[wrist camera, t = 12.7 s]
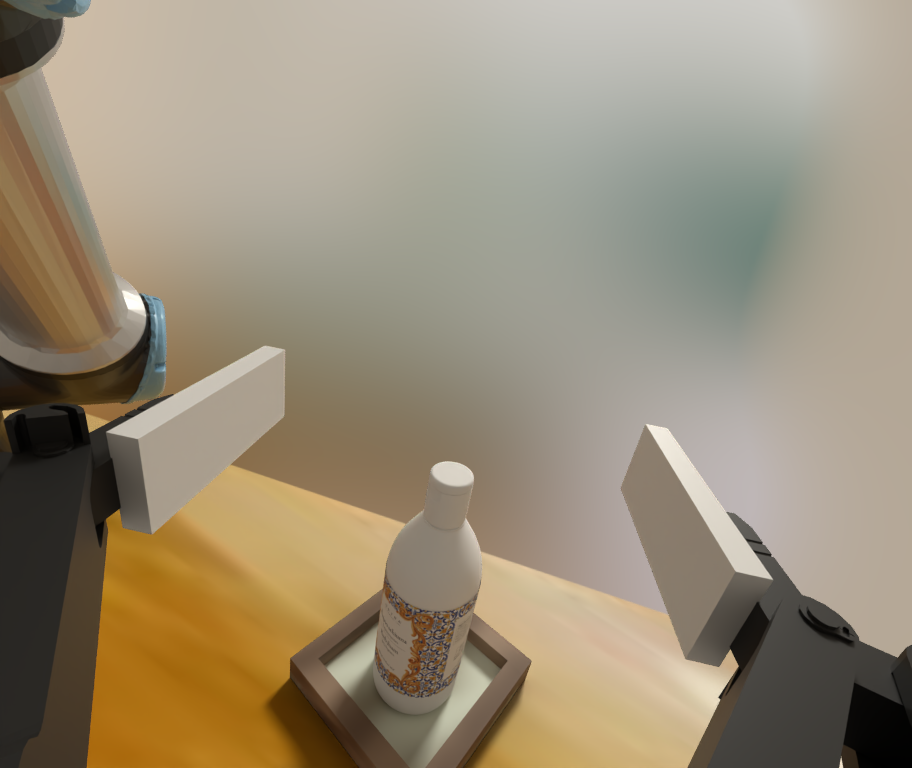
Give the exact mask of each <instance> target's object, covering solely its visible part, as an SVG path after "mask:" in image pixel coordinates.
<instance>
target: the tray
mask: <svg viewBox="0 0 912 768" xmlns="http://www.w3.org/2000/svg"><path fill="white" fill-rule="evenodd" d="M382 593H383V589H382V590H380V591H379V592H378V593H376V594H375V595H374V596H372V597H371V598H370V599H368V600H367V601H366V602H364V603H363V604H362V605H360V606H359V607H358V608H356V609H355V610H354V611H352V612H351V613H350V614H349V615H347V616H346V617H345V618H343V619H342V620H341V621H339V622H338V623H337V624H335V625H334V626H333V627H331V628H330V629H329V630H327V631H326V632H325V633H323V634H322V635H321V636H319V637H318V638H317V639H315V640H314V641H313V642H311V643H310V644H309V645H307V646H306V647H305V648H303V649H302V650H301V651H299V652H298V653H297V654H295V655H294V656H293V657H291V658H290V678H291V679H292V680H293V682H294V683H295V684H296V686H297V687H298V688H299V689H300V691H301V692H302V693H303V695H304V696H305V697H306V699H307V700H308V701H309V703H310V704H311V705H312V707H313V708H314V709H315V710H316V712H317V713H318V714H319V716H320V717H321V718H322V720H323V721H324V722H325V724H326V725H327V726H328V728H329V729H330V730H331V731H332V733H333V734H334V735H335V737H336V738H337V739H338V741H339V742H340V743H341V745H342V746H343V747H344V748H345V750H346V751H347V752H348V754H349V755H350V756H351V758H352V759H353V760H354V762H355V763H356V764H357V766H358V767H359V768H464V766H465V765H466V763H467V762H468V760H469V759H470V757H471V756H472V755H473V753H474V752H475V750H476V749H477V747H478V746H479V745H480V743H481V742H482V740H483V739H484V737H485V736H486V734H487V733H488V732H489V730H490V729H491V727H492V726H493V724H494V723H495V722H496V720H497V719H498V717H499V716H500V714H501V713H502V711H503V710H504V709H505V707H506V706H507V704H508V703H509V701H510V700H511V699H512V697H513V696H514V694H515V693H516V691H517V690H518V688H519V687H520V686H521V684H522V683H523V681H524V680H525V678H526V676H527V673H528V670H529V667H530V664H531V660H530V659H529V658H528V657H526V656H525V655H524V654H523V653H522V652H520V651H519V650H518V649H517V648H515V647H514V646H513V645H512V644H511V643H509V642H508V641H507V640H506V639H505V638H503V637H502V636H501V635H500V634H499V633H497V632H496V631H495V630H494V629H493V628H491V627H490V626H489V625H488V624H486V623H485V622H484V621H483V620H482V619H480V618H479V617H478V616H477V615H476V614H474V613H473V616H472V619H471V623H470V627H469V631H468V635H467V639H466V643H465V647H464V651H463V655H462V659H461V663H460V667H459V670H458V674H457V678H456V682H455V685H454V688H453V690H452V692H451V694H450V695H449V697H448V698H447V699H446V701H445V702H444V703H442V704H441V705H440V706H439V707H438V708H436V709H435V710H433V711H431V712H428V713H425V714H420V715H410V714H405V713H402V712H399V711H397V710H395V709H393V708H392V707H390V706H389V705H388V704H387V703H386V702H385V701H384V700H383V699H382V697H381V696H380V694H379V693H378V691H377V689H376V686H375V683H374V678H373V662H374V655H375V645H376V638H377V630H378V623H379V615H380V608H381V600H382Z"/></svg>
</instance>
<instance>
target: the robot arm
mask: <svg viewBox="0 0 912 768" xmlns="http://www.w3.org/2000/svg"><path fill="white" fill-rule="evenodd" d="M90 1H91V0H0V768H86V767H87V756H88V745H89V734H90V723H91V712H92V701H93V690H94V679H95V668H96V656H97V645H98V634H99V623H100V612H101V601H102V590H103V579H104V568H105V557H106V546H107V535H108V528H107V523H106V519H107V518H108V517H109V516H110V515H112V514H113V513H114V512H116V511H117V510H118V509H120V514H121V520H122V525H123V528H126V529H130V530H135V531H139V532H143V533H148V534H153V533H154V532H155V531H156V530H158V529H159V528H160V527H161V526H162V525H163V524H164V523H165V522H166V521H168V520H169V519H170V518H171V517H172V516H173V515H174V514H175V513H177V512H178V511H179V510H180V509H181V508H182V507H183V506H184V505H185V504H187V503H188V502H189V501H190V500H191V499H192V498H193V497H194V496H196V495H197V494H198V493H199V492H200V491H201V490H202V489H203V488H204V487H206V486H207V485H208V484H209V483H210V482H211V481H212V480H213V479H215V478H216V477H217V476H218V475H219V474H220V473H221V472H222V471H224V470H225V469H226V468H227V467H228V466H229V465H230V464H231V463H232V462H234V461H235V460H236V459H237V458H238V457H239V456H240V455H241V454H243V453H244V452H245V451H246V450H247V449H248V448H249V447H250V446H251V445H253V444H254V443H255V442H256V441H257V440H258V439H259V438H260V437H261V436H262V435H264V434H265V433H266V432H267V431H268V430H269V429H270V428H272V427H273V426H274V425H275V424H276V423H277V422H278V421H279V420H280V419H282V418H283V417H284V405H285V403H284V401H285V350H284V349H279V348H274V347H269V346H263V347H262V348H260V349H258V350H256V351H254V352H252V353H251V354H249V355H247V356H245V357H244V358H241V359H240V360H238V361H236V362H234V363H232V364H230V365H229V366H227V367H225V368H223V369H221V370H219V371H217V372H216V373H214V374H212V375H210V376H208V377H206V378H205V379H203V380H201V381H199V382H197V383H195V384H193V385H192V386H190V387H188V388H186V389H184V390H182V391H181V392H179V393H177V394H175V395H174V394H172V395H168V396H164V397H161V398H157V399H155V398H156V397H158V396H159V395H161V394H162V392H163V390H164V387H165V380H166V364H165V362H166V322H165V311H164V307H163V303H162V301H161V300H160V299H159V298H157V297H154V296H148V295H146V294H138V293H137V291H136V290H135V289H134V288H133V287H132V285H131V284H129V283H128V282H127V281H126V280H125V279H123V278H122V277H121V276H119V275H117V274H116V273H114V272H113V271H112V269H111V266H110V263H109V260H108V257H107V254H106V252H105V249H104V246H103V243H102V240H101V237H100V234H99V232H98V229H97V226H96V223H95V220H94V218H93V214H92V212H91V209H90V206H89V203H88V200H87V198H86V195H85V192H84V189H83V186H82V183H81V181H80V178H79V175H78V172H77V169H76V166H75V163H74V161H73V158H72V155H71V152H70V149H69V146H68V143H67V140H66V137H65V135H64V132H63V129H62V126H61V123H60V120H59V117H58V115H57V112H56V109H55V106H54V103H53V101H52V97H51V95H50V92H49V89H48V86H47V83H46V81H45V78H44V75H43V72H42V69H41V67H42V66H44V65H45V64H46V63H48V61H49V60H50V59H51V58H52V57H53V56H54V55H55V54H56V52H57V50H58V49H59V47H60V45H61V43H62V39H63V35H64V17H77V16H80V15H82V14H84V13H85V12H86V11H87V10H88V8H89V6H90ZM151 399H154V400H151ZM143 400H151V401H150V402H148V403H146V404H144V405H142V406H140V407H138V408H137V410H135V409H134V410H132V411H130V412H128V413H127V414H125V416H121V417H119V418H117V419H115V420H113V421H111V422H109V423H107V424H106V425H104V426H102V427H100V428H98V429H96V430H94V431H92V432H90V433H89V431H88V426H87V421H86V415H85V412H84V409H83V408H82V407H80V406H78V405H91V404H107V403H121V404H130V403H133V402H134V401H143ZM17 409H21V410H18V411H16V412H14V413H12V414H10V415H9V416H8V417H7V418H5V419H4V416H3V413H2V411H3V410H17ZM621 491H622V493H623V496H624V498H625V501H626V503H627V506H628V509H629V511H630V514H631V517H632V519H633V522H634V525H635V527H636V530H637V533H638V535H639V538H640V540H641V543H642V546H643V548H644V551H645V554H646V556H647V559H648V561H649V564H650V567H651V569H652V572H653V575H654V577H655V580H656V582H657V585H658V588H659V590H660V593H661V596H662V598H663V601H664V604H665V606H666V609H667V611H668V614H669V617H670V619H671V622H672V625H673V627H674V630H675V633H676V635H677V638H678V640H679V643H680V646H681V648H682V651H683V654H684V656H685V659H687V660H691V661H696V662H700V663H704V664H709V665H713V666H717V667H719V666H720V665H721V663H722V661H723V660H724V658H725V657H726V655H727V653H728V652H729V650H730V649H731V651H732V653H733V655H734V657H735V659H736V661H737V663H738V665H739V667H738V668H737V670H736V671H735V673H734V674H733V676H732V677H731V679H730V680H729V682H728V684H727V685H726V687H725V688H724V690H723V691H722V693H721V694H720V696H719V697H718V698H719V699H721V700H720V702H719V704H718V706H717V708H716V710H715V712H714V715H713V717H712V719H711V721H710V723H709V725H708V727H707V729H706V731H705V733H704V735H703V737H702V739H701V741H700V743H699V745H698V747H697V749H696V751H695V753H694V755H693V757H692V759H691V761H690V764H689V766H688V768H839V765H840V759H841V757H842V763H843V768H912V645H910V646H909V647H907V648H906V649H905V650H904V651H903V652H902V653H901V654H900V656H899V657H898V658H897V657H895V656H892V655H890V654H888V653H885V652H883V651H881V650H878V649H876V648H874V647H872V646H870V645H867V644H865V643H863V642H860V641H859V637H858V635H857V634H856V633H855V631H854V630H853V628H852V627H851V625H850V624H848V623H847V622H846V621H845V620H844V619H843V618H842V617H841V616H840V615H839V614H837V613H836V612H835V611H833V610H832V609H830V608H829V607H827V606H826V605H824V604H822V603H820V602H818V601H816V600H814V599H812V598H810V597H806V596H803V595H801V593H800V592H799V591H798V589H797V588H796V586H795V585H794V584H793V582H792V581H791V580H790V578H789V577H788V576H787V574H786V573H785V572H784V571H783V569H782V568H781V566H780V565H779V564H778V562H777V561H776V560H775V558H774V557H771V553H770V552H769V550H768V549H767V548H766V546H765V545H762V541H761V540H760V538H759V537H758V535H757V534H756V533H755V532H754V530H753V529H752V528H751V527H750V526H749V525H748V524H746V523H745V522H744V521H743V520H742V519H741V518H739V517H738V516H737V515H736V514H734V513H729V512H726V511H725V510H724V509H723V507H722V506H721V504H720V503H719V501H718V500H717V499H716V497H715V496H714V494H713V493H712V492H711V490H710V489H709V487H708V486H707V484H706V483H705V481H704V480H703V479H702V477H701V476H700V474H699V473H698V472H697V470H696V469H695V467H694V466H693V464H692V463H691V461H690V460H689V459H688V457H687V456H686V454H685V453H684V451H683V450H682V449H681V447H680V446H679V444H678V443H677V441H676V440H675V438H674V437H673V436H672V434H671V433H670V431H669V430H668V429H667V428H663V427H657V426H653V425H647V424H645V427H644V429H643V432H642V434H641V437H640V440H639V442H638V445H637V447H636V450H635V452H634V455H633V458H632V460H631V463H630V465H629V468H628V471H627V473H626V476H625V478H624V481H623V483H622V486H621Z"/></svg>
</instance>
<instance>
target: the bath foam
mask: <svg viewBox="0 0 912 768" xmlns="http://www.w3.org/2000/svg"><path fill="white" fill-rule="evenodd" d="M473 483H474V476H473V474H472V472H471V470H470V469H469V468H467V467H466V466H464V465H462V464H460V463H456V462H440V463H438V464H436V465H434V467H432V469H431V471H430V476H429V481H428V487H427V493H426V499H425V507H424V510H423V511H422V512H420V513H419V514H418V515H416V516H415V517H414V518H413V519H412V520H410V521H409V522H408V523H407V524H406V525H405V526H404V528H403V529H402V530H401V531H400V533H399V534H398V536H397V537H396V539H395V541H394V543H393V545H392V547H391V550H390V553H389V556H388V560H387V563H386V570H385V578H384V585H383V593H382V600H381V608H380V615H379V623H378V630H377V638H376V645H375V655H374V662H373V678H374V683H375V686H376V689H377V691H378V693H379V694H380V696H381V697H382V699H383V700H384V701H385V702H386V703H387V704H388V705H389V706H390V707H392V708H393V709H395V710H397V711H399V712H402V713H405V714H410V715H420V714H425V713H428V712H431V711H433V710H435V709H436V708H438V707H439V706H440V705H441V704H442V703H444V702H445V701H446V699H447V698H448V697H449V695H450V694H451V692H452V690H453V688H454V685H455V682H456V678H457V674H458V670H459V667H460V663H461V659H462V655H463V651H464V647H465V643H466V639H467V635H468V631H469V627H470V623H471V619H472V616H473V612H474V608H475V604H476V600H477V596H478V592H479V588H480V584H481V575H482V558H481V551H480V547H479V544H478V541H477V539H476V536H475V534H474V532H473V530H472V528H471V526H470V525H469V523H468V521H467V519H466V515H467V511H468V506H469V502H470V497H471V492H472V488H473Z"/></svg>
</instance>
